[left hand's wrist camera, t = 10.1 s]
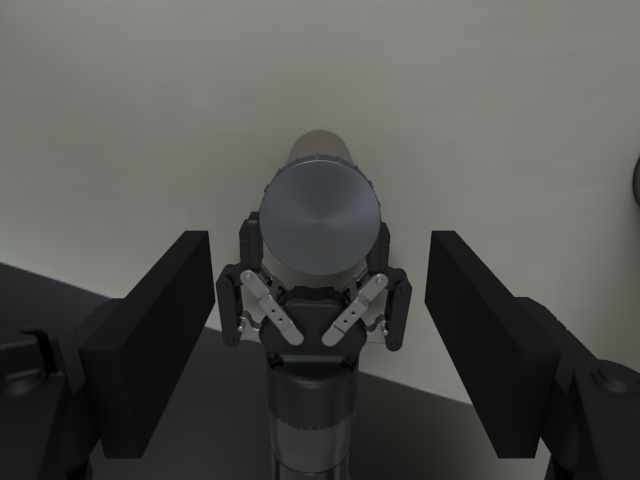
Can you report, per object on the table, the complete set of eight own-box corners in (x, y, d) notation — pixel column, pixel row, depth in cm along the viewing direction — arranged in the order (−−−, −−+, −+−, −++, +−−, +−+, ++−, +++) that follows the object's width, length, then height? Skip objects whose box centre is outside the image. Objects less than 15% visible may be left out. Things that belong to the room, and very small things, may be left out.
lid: (290, 279, 22) (288, 293, 20) (242, 179, 20) (236, 187, 18) (392, 240, 21) (398, 252, 19) (353, 133, 19) (355, 137, 18)
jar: (304, 198, 34) (293, 278, 20) (280, 144, 33) (250, 190, 19) (358, 176, 34) (385, 244, 20) (336, 120, 32) (349, 149, 18)
